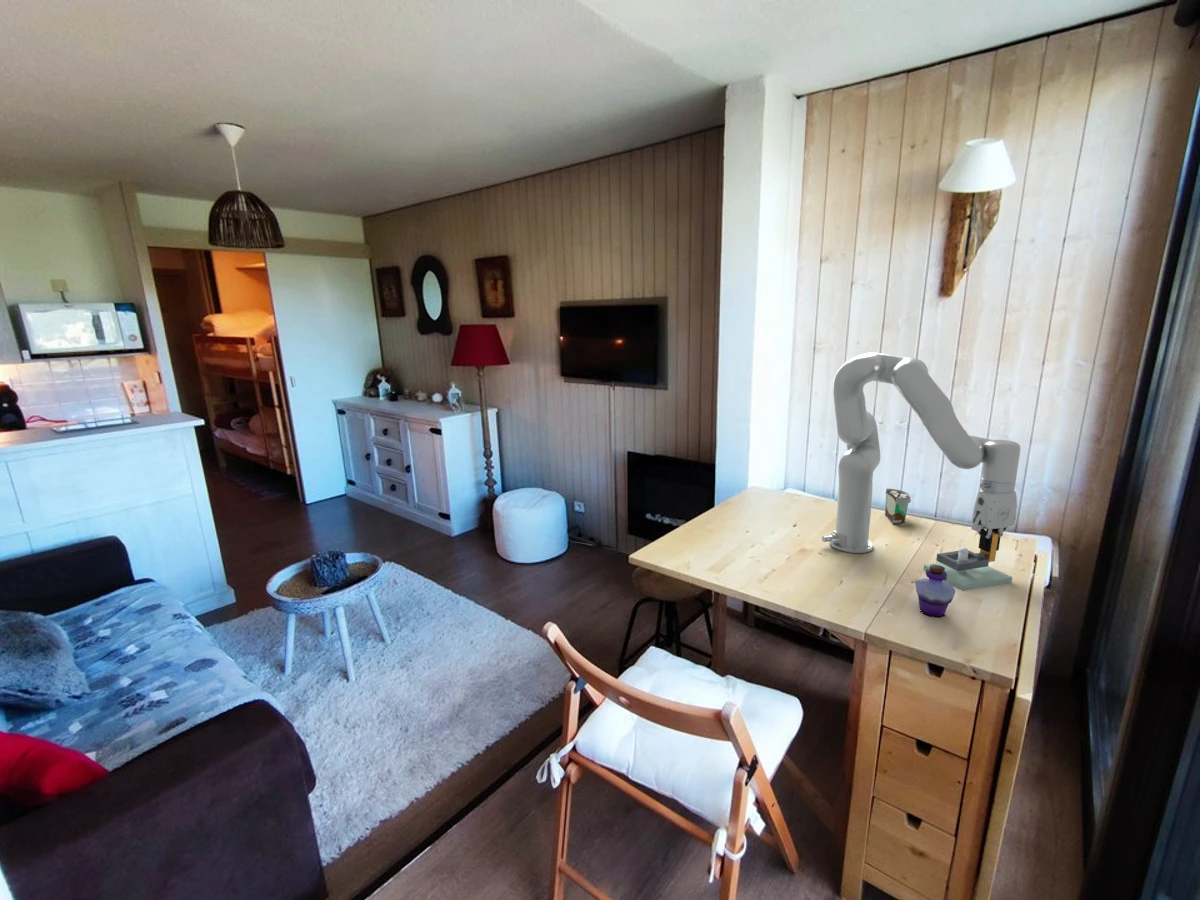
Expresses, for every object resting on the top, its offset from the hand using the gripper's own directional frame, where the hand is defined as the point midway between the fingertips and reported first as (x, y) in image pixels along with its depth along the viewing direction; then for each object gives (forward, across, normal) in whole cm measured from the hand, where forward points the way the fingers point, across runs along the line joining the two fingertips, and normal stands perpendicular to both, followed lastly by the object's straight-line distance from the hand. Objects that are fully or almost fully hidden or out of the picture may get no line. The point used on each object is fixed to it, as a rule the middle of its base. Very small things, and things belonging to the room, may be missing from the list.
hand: (988, 548), depth 152 cm
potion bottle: (+7, -30, -13) cm, 34 cm away
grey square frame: (+3, -6, 0) cm, 7 cm away
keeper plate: (+7, -6, 0) cm, 10 cm away
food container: (+7, +8, +41) cm, 42 cm away
